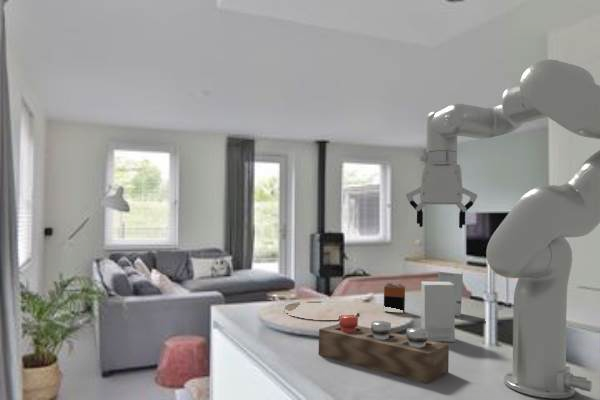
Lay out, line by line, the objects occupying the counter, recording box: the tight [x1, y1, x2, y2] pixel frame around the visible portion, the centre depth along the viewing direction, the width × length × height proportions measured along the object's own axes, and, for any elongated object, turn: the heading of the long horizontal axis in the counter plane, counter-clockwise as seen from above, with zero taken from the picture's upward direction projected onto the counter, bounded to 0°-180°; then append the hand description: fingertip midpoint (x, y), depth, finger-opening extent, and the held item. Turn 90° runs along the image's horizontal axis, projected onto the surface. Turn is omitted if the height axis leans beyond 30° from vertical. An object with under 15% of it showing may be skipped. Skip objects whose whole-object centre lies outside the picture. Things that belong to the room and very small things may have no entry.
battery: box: [383, 282, 406, 312], centre depth 167 cm, size 4×7×10 cm, turn 71°
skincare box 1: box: [420, 280, 456, 343], centre depth 131 cm, size 8×7×16 cm
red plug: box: [338, 315, 359, 333], centre depth 114 cm, size 4×4×5 cm
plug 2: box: [406, 327, 428, 349], centre depth 102 cm, size 4×4×5 cm
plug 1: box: [370, 320, 392, 340], centre depth 108 cm, size 4×4×5 cm
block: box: [318, 323, 450, 385], centre depth 108 cm, size 28×10×6 cm, turn 49°
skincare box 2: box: [437, 270, 464, 317], centre depth 166 cm, size 8×6×15 cm
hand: (440, 227), depth 120 cm, fingers open, 9 cm apart
